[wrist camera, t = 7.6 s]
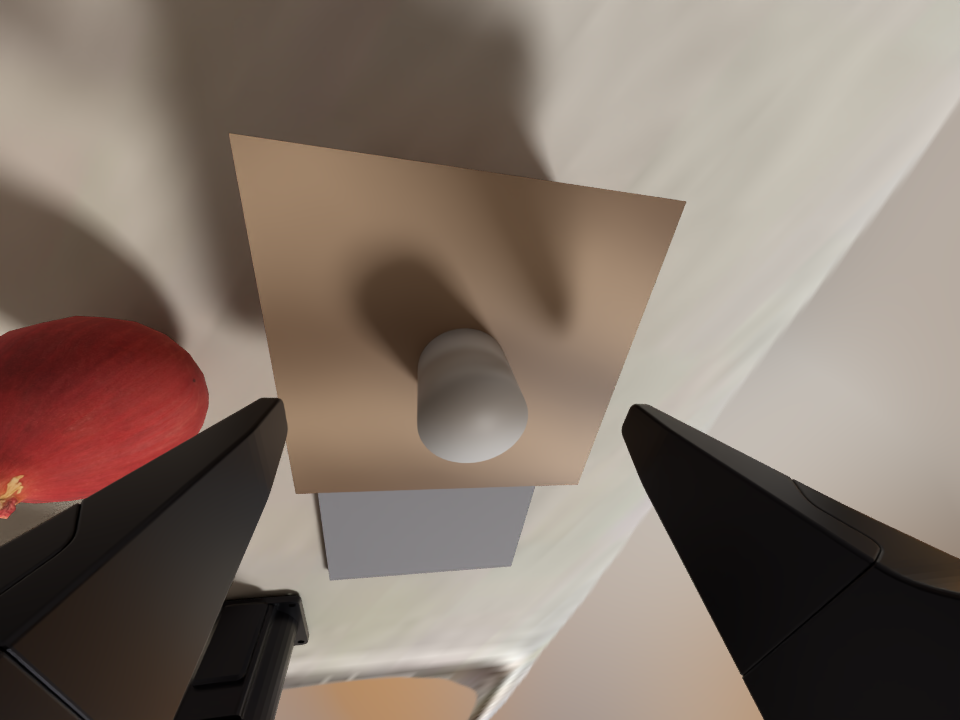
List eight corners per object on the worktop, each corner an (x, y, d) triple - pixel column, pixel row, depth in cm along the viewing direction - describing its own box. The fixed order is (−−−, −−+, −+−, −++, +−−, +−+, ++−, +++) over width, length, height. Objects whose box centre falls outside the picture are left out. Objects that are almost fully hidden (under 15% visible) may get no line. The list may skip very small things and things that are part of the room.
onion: (109, 402, 16) (-133, 590, 9) (55, 279, 13) (-356, 412, 6) (251, 407, 17) (136, 576, 10) (230, 295, 14) (51, 421, 7)
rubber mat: (509, 558, 27) (510, 566, 26) (331, 571, 24) (329, 580, 24) (546, 430, 21) (549, 436, 20) (313, 429, 18) (310, 437, 18)
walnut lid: (567, 463, 16) (605, 542, 12) (305, 468, 13) (268, 566, 10) (660, 197, 10) (771, 214, 7) (252, 136, 8) (141, 120, 5)
